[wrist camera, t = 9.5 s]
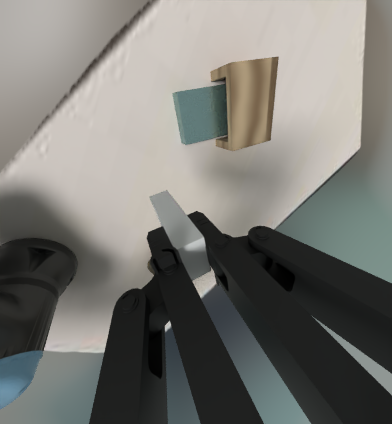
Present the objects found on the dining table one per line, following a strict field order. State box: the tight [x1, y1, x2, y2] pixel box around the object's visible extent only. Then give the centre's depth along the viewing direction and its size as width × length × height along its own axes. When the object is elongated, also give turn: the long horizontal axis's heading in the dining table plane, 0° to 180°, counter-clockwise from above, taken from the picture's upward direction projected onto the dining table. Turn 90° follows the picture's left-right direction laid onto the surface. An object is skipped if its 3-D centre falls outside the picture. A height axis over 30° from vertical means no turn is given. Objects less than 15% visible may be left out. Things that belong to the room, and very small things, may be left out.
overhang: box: [211, 57, 279, 151], centre depth 35 cm, size 10×14×7 cm
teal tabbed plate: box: [173, 84, 228, 145], centre depth 35 cm, size 14×9×3 cm, turn 98°
